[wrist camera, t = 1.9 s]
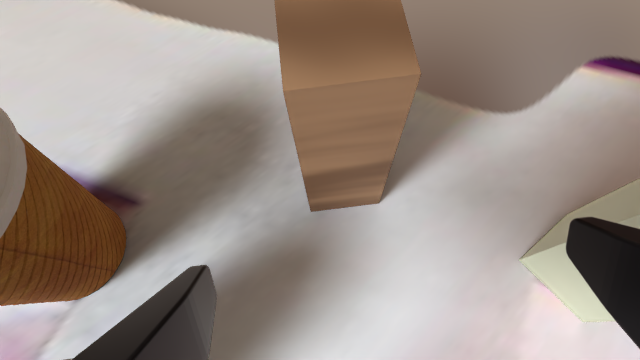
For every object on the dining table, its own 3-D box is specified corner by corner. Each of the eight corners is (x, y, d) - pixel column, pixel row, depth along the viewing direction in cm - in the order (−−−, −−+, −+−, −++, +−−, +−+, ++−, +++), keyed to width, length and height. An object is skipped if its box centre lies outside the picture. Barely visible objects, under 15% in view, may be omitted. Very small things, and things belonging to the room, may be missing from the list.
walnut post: (378, 203, 24) (421, 73, 12) (310, 211, 24) (283, 91, 12) (367, 142, 25) (394, -24, 13) (304, 150, 25) (273, -9, 13)
